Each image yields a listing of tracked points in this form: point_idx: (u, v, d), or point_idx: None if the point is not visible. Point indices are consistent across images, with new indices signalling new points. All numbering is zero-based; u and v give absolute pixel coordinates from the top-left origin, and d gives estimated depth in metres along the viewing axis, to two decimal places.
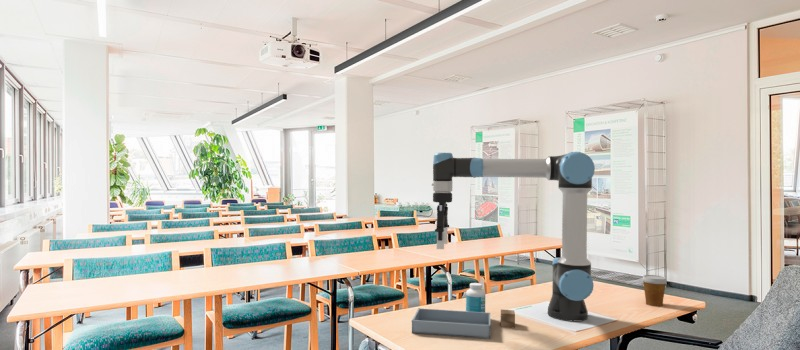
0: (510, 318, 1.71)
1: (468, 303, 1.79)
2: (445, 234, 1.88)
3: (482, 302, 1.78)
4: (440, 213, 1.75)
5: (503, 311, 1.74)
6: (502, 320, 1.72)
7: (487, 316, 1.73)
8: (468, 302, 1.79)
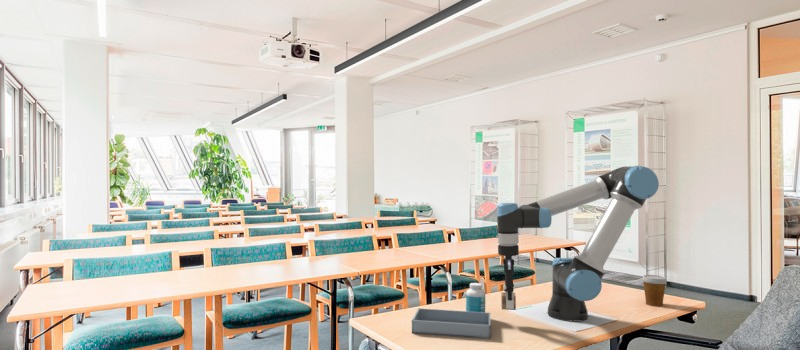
0: None
1: (468, 303, 1.79)
2: None
3: (482, 302, 1.78)
4: (509, 273, 1.68)
5: (503, 294, 1.74)
6: (503, 302, 1.72)
7: (487, 316, 1.73)
8: (468, 302, 1.79)
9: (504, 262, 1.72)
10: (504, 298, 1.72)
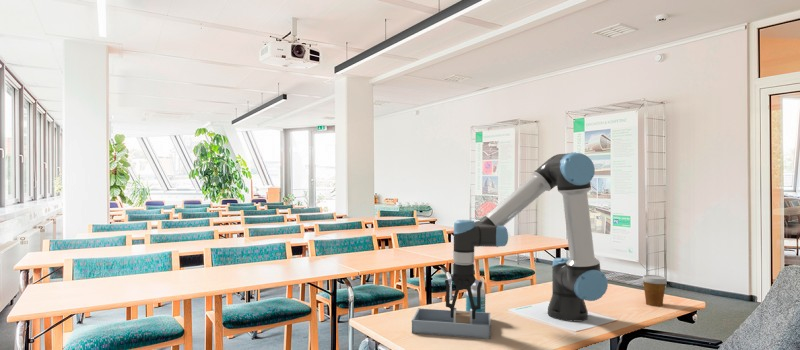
0: None
1: (468, 303, 1.79)
2: None
3: (482, 302, 1.78)
4: None
5: (462, 312, 1.70)
6: None
7: (487, 316, 1.73)
8: (468, 302, 1.79)
9: None
10: None
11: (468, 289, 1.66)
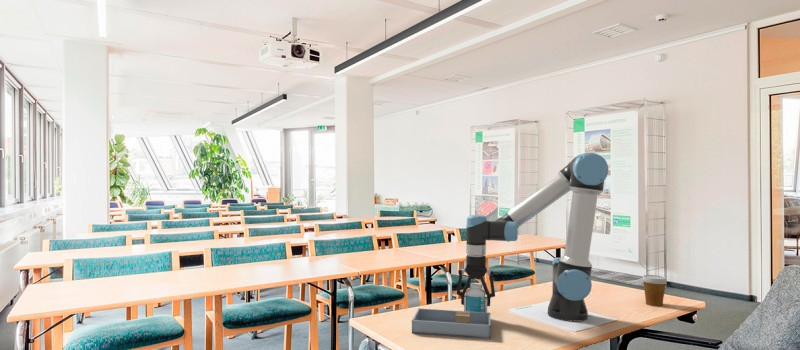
0: None
1: (468, 303, 1.79)
2: (485, 304, 1.80)
3: (482, 301, 1.78)
4: (459, 277, 1.82)
5: (462, 312, 1.70)
6: None
7: (487, 316, 1.73)
8: (468, 302, 1.79)
9: None
10: None
11: (481, 279, 1.79)
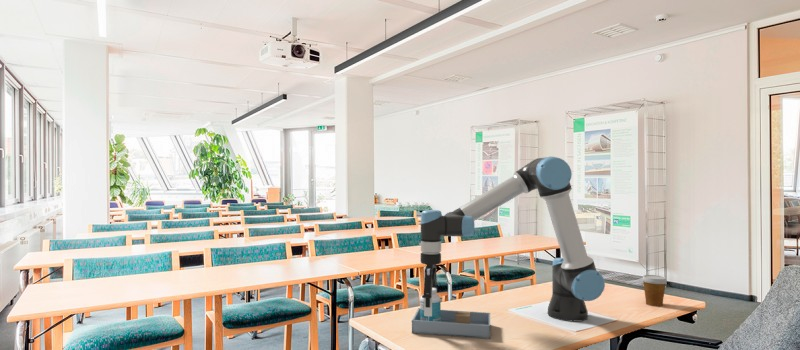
0: None
1: (436, 310, 1.67)
2: None
3: None
4: (428, 278, 1.63)
5: (462, 312, 1.70)
6: None
7: (487, 316, 1.73)
8: (436, 309, 1.67)
9: None
10: None
11: None
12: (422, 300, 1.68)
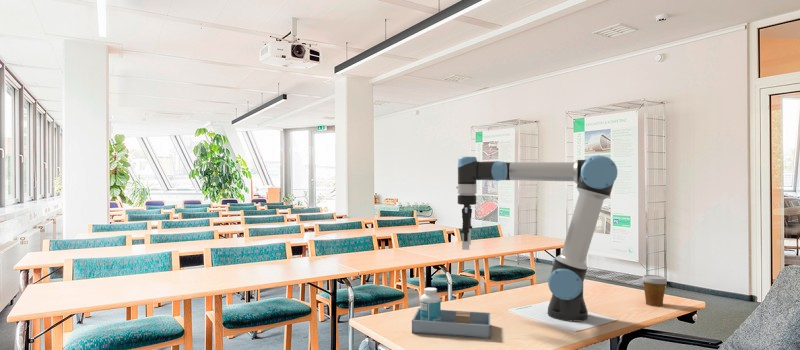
0: None
1: (436, 310, 1.67)
2: (469, 235, 1.95)
3: None
4: (465, 215, 1.81)
5: (462, 312, 1.70)
6: None
7: (487, 316, 1.73)
8: (436, 309, 1.67)
9: (462, 210, 1.87)
10: None
11: None
12: (422, 300, 1.68)
